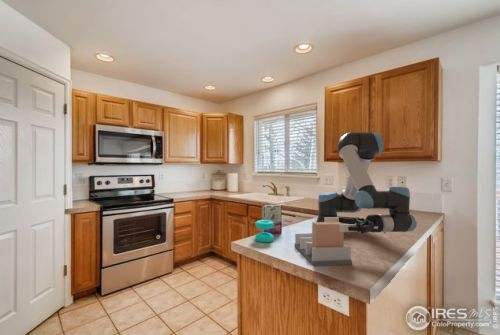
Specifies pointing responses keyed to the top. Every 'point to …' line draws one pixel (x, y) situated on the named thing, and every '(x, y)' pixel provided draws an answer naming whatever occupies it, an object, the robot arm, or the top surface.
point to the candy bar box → (273, 217)
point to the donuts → (264, 235)
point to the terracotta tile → (327, 234)
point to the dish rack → (322, 252)
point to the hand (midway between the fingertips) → (331, 224)
